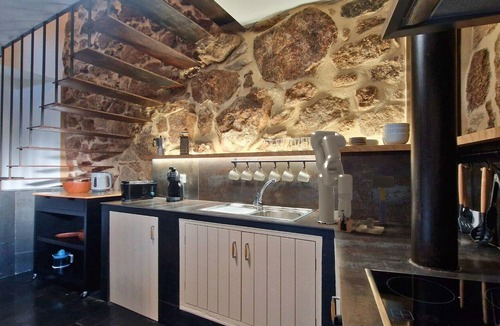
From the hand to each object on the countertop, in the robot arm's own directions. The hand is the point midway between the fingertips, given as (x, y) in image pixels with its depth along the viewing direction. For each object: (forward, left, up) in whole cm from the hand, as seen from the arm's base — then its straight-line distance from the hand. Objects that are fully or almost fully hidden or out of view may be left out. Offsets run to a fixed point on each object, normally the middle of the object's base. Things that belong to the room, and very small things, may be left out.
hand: (345, 229), depth 143 cm
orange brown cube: (0, 0, -1) cm, 1 cm away
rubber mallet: (+14, +32, -1) cm, 35 cm away
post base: (+11, +9, -1) cm, 14 cm away
